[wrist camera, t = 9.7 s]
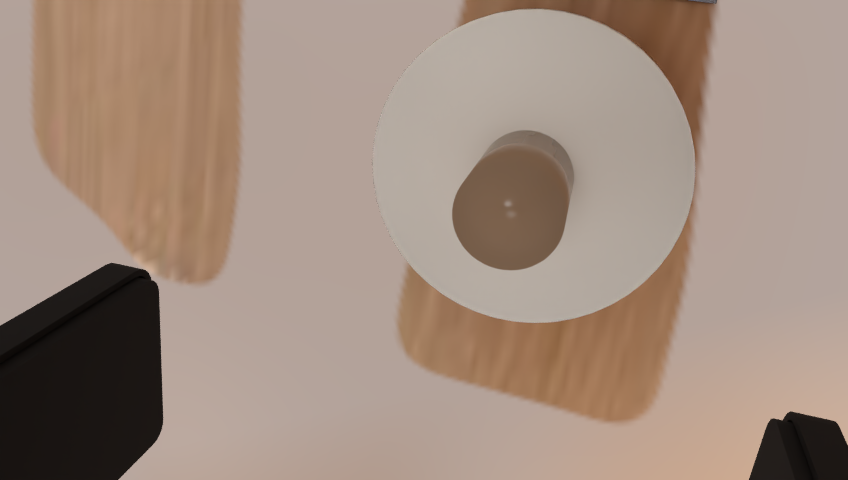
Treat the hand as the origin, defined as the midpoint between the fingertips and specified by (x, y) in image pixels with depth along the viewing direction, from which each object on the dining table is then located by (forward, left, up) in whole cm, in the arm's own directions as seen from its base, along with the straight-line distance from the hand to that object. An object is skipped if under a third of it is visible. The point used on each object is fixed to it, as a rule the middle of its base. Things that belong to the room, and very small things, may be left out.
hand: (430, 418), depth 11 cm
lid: (0, 0, -16) cm, 16 cm away
